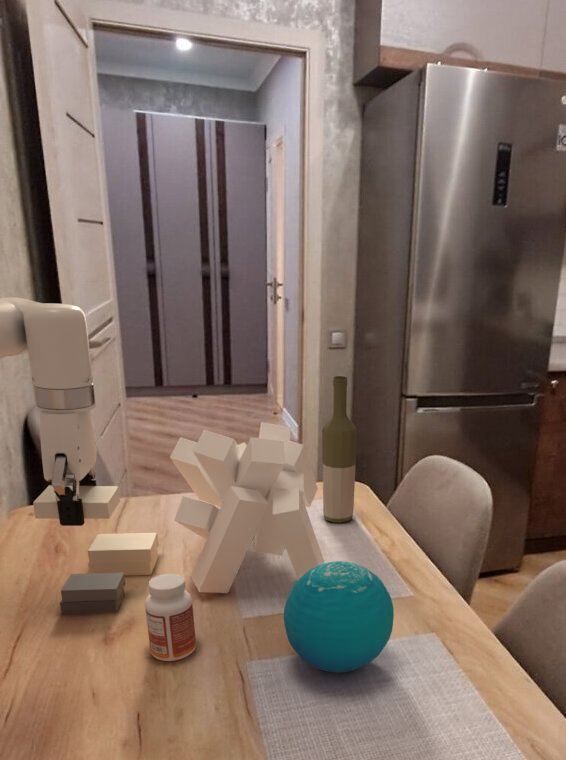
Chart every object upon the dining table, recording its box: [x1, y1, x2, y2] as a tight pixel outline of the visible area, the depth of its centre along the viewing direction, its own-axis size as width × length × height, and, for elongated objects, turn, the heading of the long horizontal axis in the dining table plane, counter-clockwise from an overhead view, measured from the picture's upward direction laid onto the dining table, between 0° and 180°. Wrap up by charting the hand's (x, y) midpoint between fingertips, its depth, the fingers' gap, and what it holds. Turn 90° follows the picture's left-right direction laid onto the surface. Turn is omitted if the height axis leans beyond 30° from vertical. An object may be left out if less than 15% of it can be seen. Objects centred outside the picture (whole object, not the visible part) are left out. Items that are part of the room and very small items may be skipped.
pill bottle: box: [144, 573, 197, 662], centre depth 92 cm, size 6×6×11 cm
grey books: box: [59, 573, 126, 615], centre depth 104 cm, size 8×6×4 cm
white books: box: [87, 532, 159, 577], centre depth 116 cm, size 10×7×5 cm
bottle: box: [321, 375, 358, 524], centre depth 136 cm, size 7×7×30 cm
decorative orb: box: [283, 560, 395, 674], centre depth 91 cm, size 15×15×15 cm
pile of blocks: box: [169, 421, 325, 594], centre depth 115 cm, size 35×30×35 cm
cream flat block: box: [32, 484, 121, 520], centre depth 99 cm, size 10×7×2 cm
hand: (80, 513), depth 100 cm, fingers closed on cream flat block, 7 cm apart
